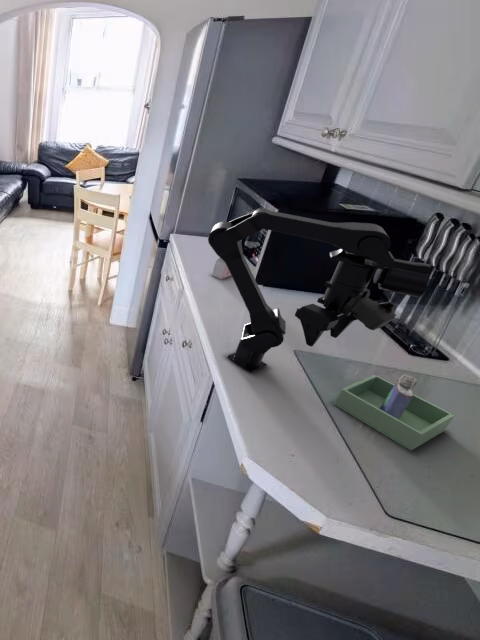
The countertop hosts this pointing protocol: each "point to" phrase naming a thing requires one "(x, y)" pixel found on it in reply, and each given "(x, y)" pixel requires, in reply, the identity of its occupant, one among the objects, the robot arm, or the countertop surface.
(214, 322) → the countertop surface
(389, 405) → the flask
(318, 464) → the countertop surface
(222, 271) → the milk carton
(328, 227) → the robot arm
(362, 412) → the bin
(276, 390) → the countertop surface
